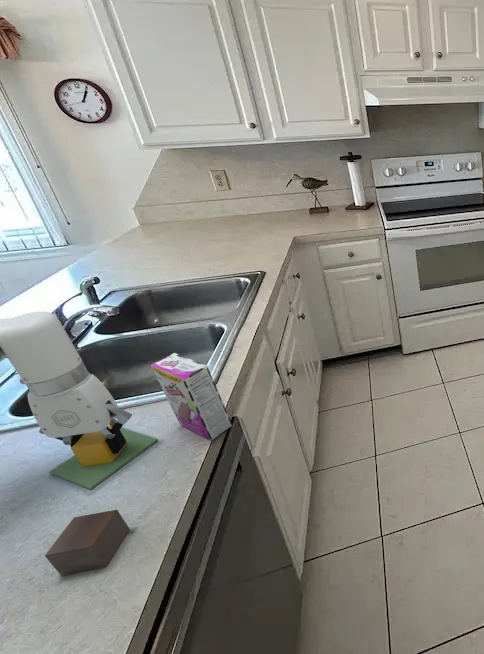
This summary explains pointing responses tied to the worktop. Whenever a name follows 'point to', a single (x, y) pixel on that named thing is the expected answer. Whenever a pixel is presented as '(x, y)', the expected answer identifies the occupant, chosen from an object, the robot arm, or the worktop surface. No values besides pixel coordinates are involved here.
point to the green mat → (100, 472)
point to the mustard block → (93, 449)
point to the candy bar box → (192, 395)
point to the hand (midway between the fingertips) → (103, 450)
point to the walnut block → (88, 542)
